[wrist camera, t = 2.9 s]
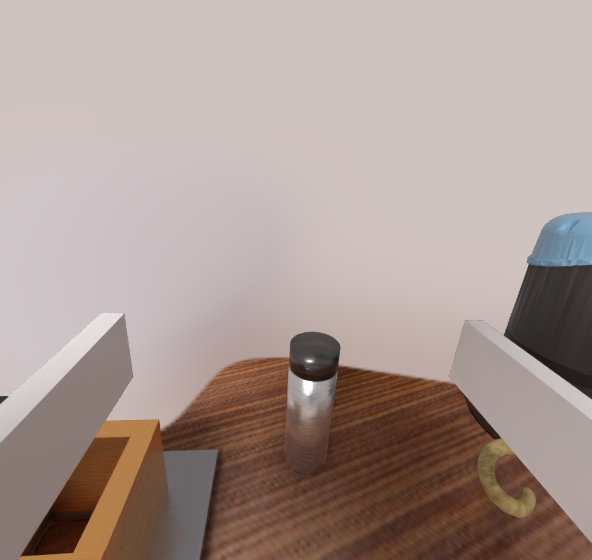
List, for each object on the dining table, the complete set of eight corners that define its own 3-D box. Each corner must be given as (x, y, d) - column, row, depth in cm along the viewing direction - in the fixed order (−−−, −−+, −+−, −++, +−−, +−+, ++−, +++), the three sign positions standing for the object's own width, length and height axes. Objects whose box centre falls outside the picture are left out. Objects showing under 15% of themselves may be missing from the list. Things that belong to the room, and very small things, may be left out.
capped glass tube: (322, 435, 31) (334, 331, 27) (330, 473, 27) (345, 359, 23) (283, 437, 31) (288, 331, 26) (285, 475, 27) (292, 359, 23)
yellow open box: (218, 457, 28) (215, 386, 25) (164, 789, 13) (141, 709, 10) (28, 464, 26) (2, 389, 24) (-276, 853, 12) (-448, 778, 9)
